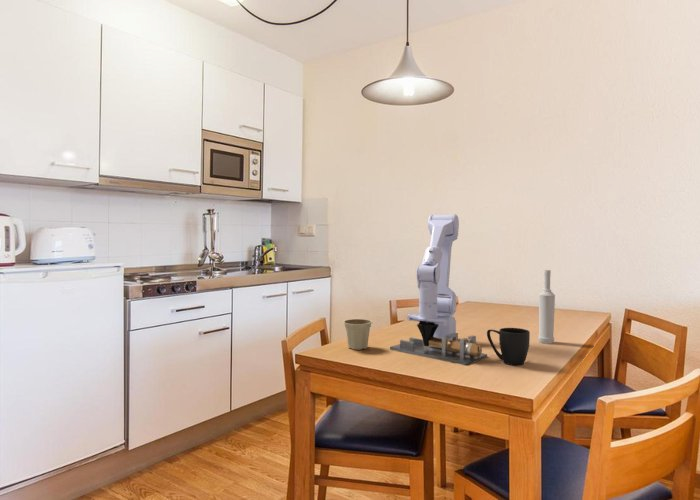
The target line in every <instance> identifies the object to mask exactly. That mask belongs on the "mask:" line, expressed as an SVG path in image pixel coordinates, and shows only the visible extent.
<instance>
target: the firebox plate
mask: <svg viewBox="0 0 700 500" xmlns="http://www.w3.org/2000/svg"><path fill="white" fill-rule="evenodd" d="M408 339H409V340H405V339H401V340H400V341H399V344H395V345H391V346H390V347H389V349H390V350H392V351H396V352H400V353H401V352H402V353H406V354H409V355H410V354H411V355H415V356H419V357H426V358H430V359H435V360H440V361H444V362H448V363H453V364H459V365H463V366H469V365H470V364H472V363H475V362H478V361H480V360H482V359H485V358H487V357H488V353H482V352H481V355H480V357H474V356H468V355H466V358H465V359H461V358H460V354H459V353H454V352H448V351H447V355H442V350H438V349H433V348H430V347H429V346H424V342H423V338H417V337H411V336H410V337H409V338H408Z"/></svg>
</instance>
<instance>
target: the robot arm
mask: <svg viewBox="0 0 700 500" xmlns="http://www.w3.org/2000/svg"><path fill="white" fill-rule="evenodd" d="M459 222H460V221H459V216H458V215H457V214H430V215H429V217H428V219H427V228H428V231H429V235H430V241H429V242H430V243H429V246H428V247H427V248H425V251H424V254H423V257H422V262H421V265H420V266H418V267H417V268H416V269H417V270H416V281H417V282H416V283H417V288H418V314H416V313H409V314H407V317H406V318H407V321H413V322H418V323H417V324H416V327H417V328H418V330H419V332H420V335H421V339H423V342H424V346H429V339H430V338H431V337H437V338H442V336H445V335H448V334H451V333H457V320H456V317H455V316H454V315H455V313H456V312H457V311H456V310H457V295H456V292H455V291H454V290H452V289H451V287H449V285H450V271H451V260H452V247H453V243H454V241H457V240H458V237H459V228H460V223H459ZM452 339H453V337H452V338H449V340H452Z"/></svg>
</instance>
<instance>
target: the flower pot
mask: <svg viewBox="0 0 700 500" xmlns="http://www.w3.org/2000/svg"><path fill="white" fill-rule="evenodd" d="M342 323H343V324H344V327H345V331H346V332H345V333H346V338H347V339H346V340H347V346H348V348H349V349H351V350H354V351H355V350H358V351H359V350H360V351H361V350H363V349H365V350H366V349H367V348H368V346H369V338H370V337H369V336H370V331H371V330H370V329H371V327H372V324H373V321H372V320H370V319H368V318H367V319H365V318H364V319H363V318H352V319H346V320H343V322H342Z"/></svg>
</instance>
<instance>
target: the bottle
mask: <svg viewBox="0 0 700 500" xmlns="http://www.w3.org/2000/svg"><path fill="white" fill-rule="evenodd" d="M543 276H544V277H543V278H544V281H543V289H542V291H541V292H540V293H539V294H538V328H539V329H538V331H539V332H538V337H537V339H538V340H537V341H538V343H541V344H545V345H552V344H554V343H555V337H554V333H555V332H554V330H555V328H554V327H555V325H554V324H555V302H556V294H554V293H553V292H552V289H551V269H544V271H543Z"/></svg>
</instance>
